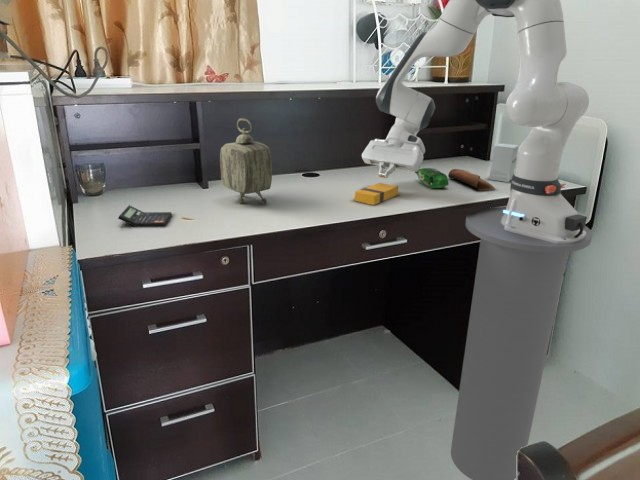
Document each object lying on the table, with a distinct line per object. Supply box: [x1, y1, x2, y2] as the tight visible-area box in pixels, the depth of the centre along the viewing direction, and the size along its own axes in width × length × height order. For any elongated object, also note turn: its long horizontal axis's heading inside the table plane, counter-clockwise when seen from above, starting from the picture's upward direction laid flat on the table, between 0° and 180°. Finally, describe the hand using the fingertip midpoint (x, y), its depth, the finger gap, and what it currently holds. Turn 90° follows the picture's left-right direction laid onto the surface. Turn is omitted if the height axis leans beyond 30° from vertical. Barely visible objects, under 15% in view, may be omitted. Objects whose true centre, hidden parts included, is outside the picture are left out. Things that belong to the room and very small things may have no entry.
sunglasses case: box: [447, 168, 496, 192], centre depth 179 cm, size 18×7×7 cm, turn 19°
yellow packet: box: [354, 182, 399, 206], centre depth 160 cm, size 3×7×15 cm
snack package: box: [414, 167, 449, 189], centre depth 177 cm, size 7×16×5 cm, turn 12°
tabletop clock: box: [219, 117, 273, 204], centre depth 150 cm, size 14×9×25 cm, turn 45°
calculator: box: [117, 205, 173, 228], centre depth 136 cm, size 9×12×3 cm
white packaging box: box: [488, 143, 520, 183], centre depth 185 cm, size 7×7×13 cm
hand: (382, 176), depth 161 cm, fingers closed
